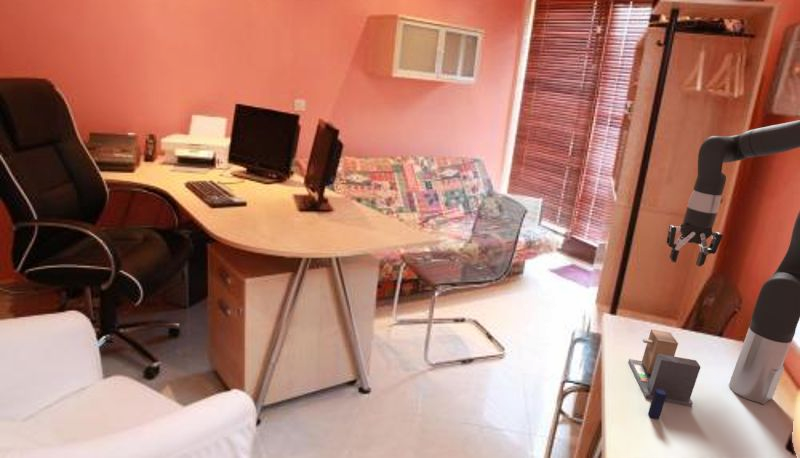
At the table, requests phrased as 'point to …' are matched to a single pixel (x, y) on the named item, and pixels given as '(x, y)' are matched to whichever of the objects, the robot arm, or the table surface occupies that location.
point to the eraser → (657, 404)
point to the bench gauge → (668, 378)
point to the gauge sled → (658, 347)
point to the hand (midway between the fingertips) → (685, 263)
